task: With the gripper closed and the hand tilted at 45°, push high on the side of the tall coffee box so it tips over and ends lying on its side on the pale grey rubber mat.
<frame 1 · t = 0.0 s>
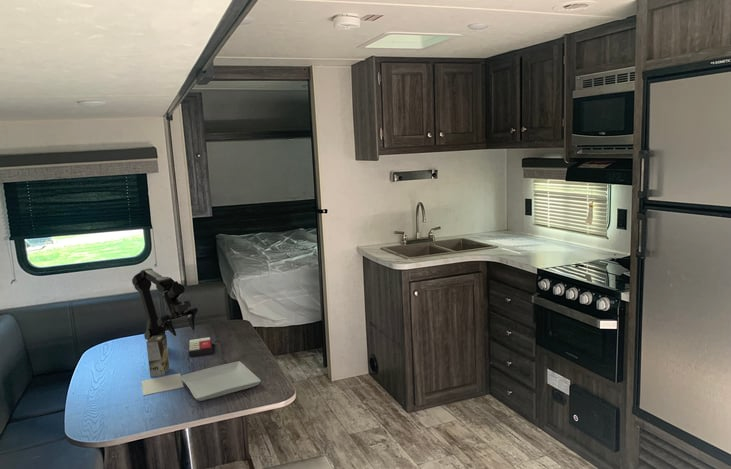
hand: (184, 332, 254), 15 cm above the table, tool tilted 35°, fingers open, 9 cm apart
coffee box: (160, 372, 248), on the table
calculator: (200, 351, 274), on the table
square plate: (220, 386, 230), on the table
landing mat: (162, 384, 234), on the table
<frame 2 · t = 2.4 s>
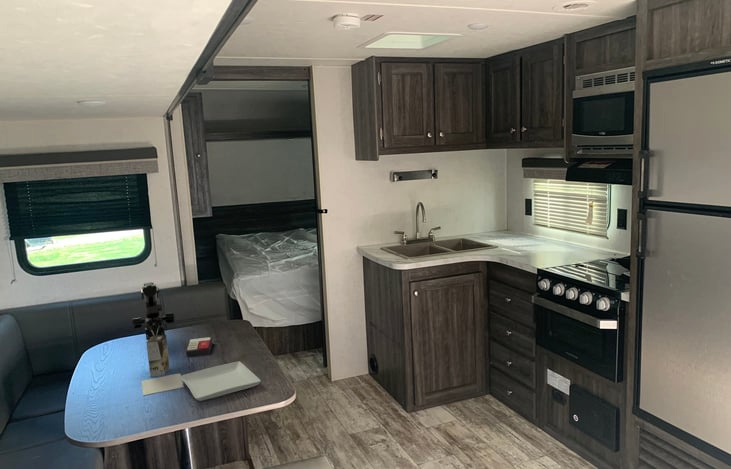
hand: (155, 336, 257), 13 cm above the table, tool tilted 45°, fingers closed
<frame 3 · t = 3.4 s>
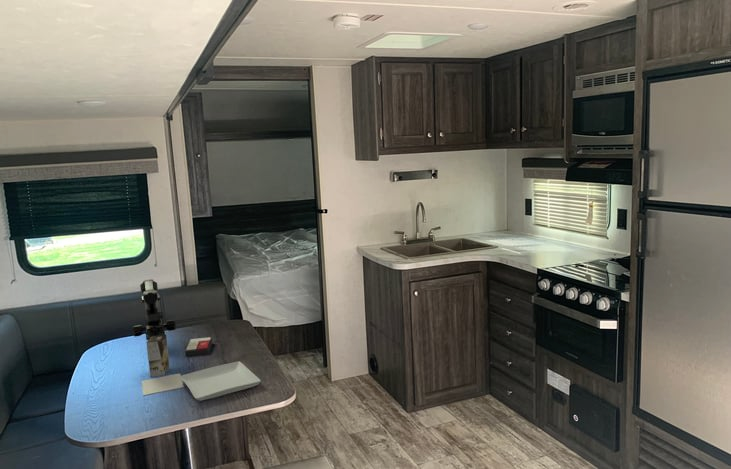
hand: (156, 343, 253), 11 cm above the table, tool tilted 45°, fingers closed
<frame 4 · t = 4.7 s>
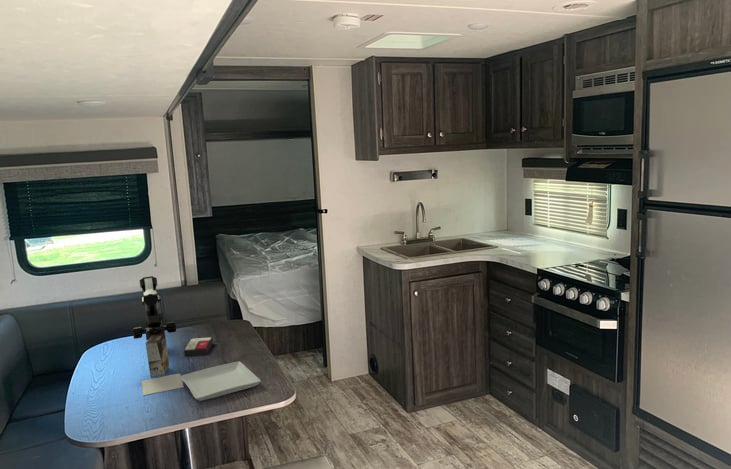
hand: (156, 346, 250), 11 cm above the table, tool tilted 45°, fingers closed
coffee box: (160, 371, 248), on the table, touching gripper
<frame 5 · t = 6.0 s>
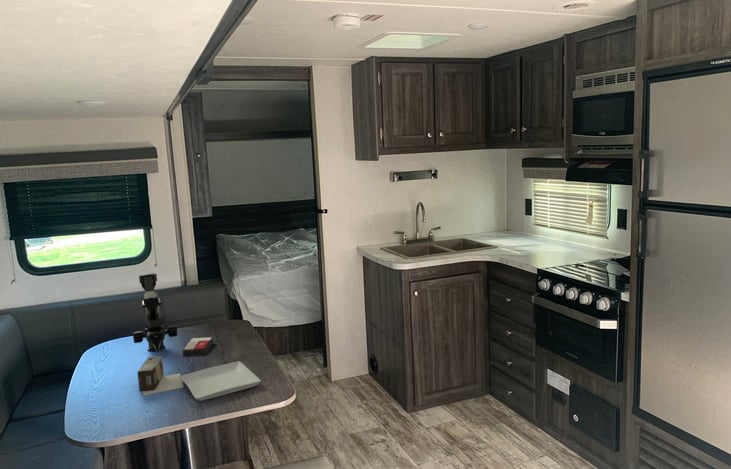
hand: (157, 350, 244), 11 cm above the table, tool tilted 45°, fingers closed
coffee box: (156, 365, 242), point 5 cm above the table, touching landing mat
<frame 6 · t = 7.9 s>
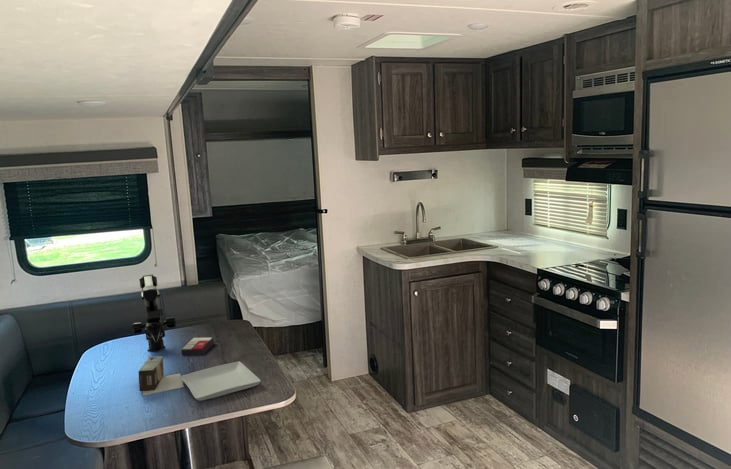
hand: (156, 341, 250), 13 cm above the table, tool tilted 45°, fingers closed
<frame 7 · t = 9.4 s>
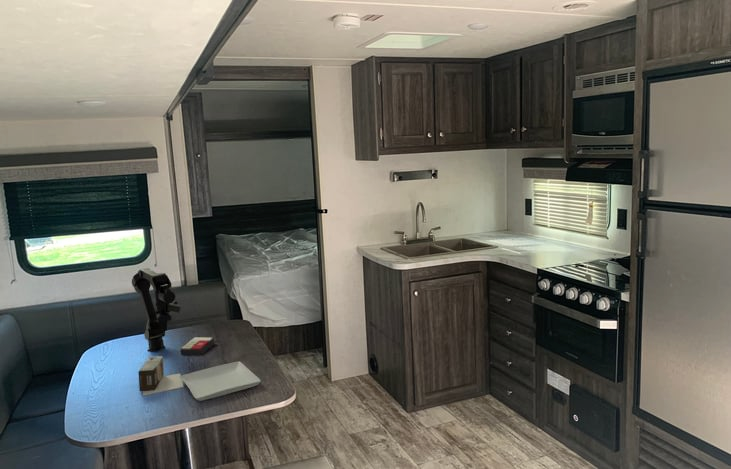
hand: (165, 330, 265), 13 cm above the table, tool pointing down, fingers closed
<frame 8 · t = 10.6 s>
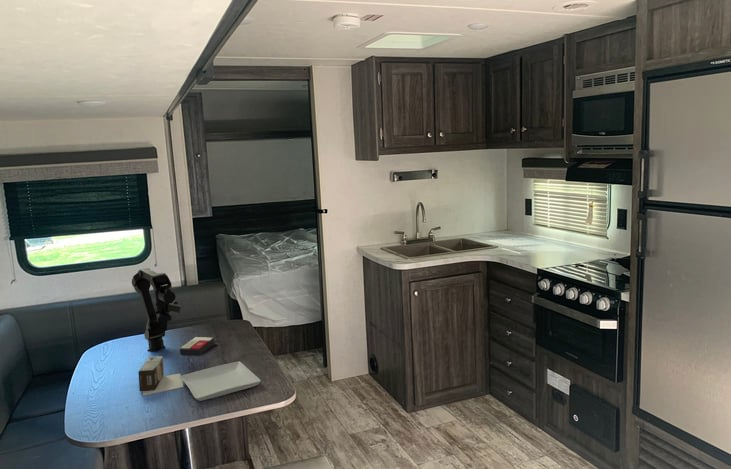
hand: (165, 330, 265), 13 cm above the table, tool pointing down, fingers closed
at the end: coffee box tilted 91°; coffee box touching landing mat; coffee box inside the target area (2.5 cm from its centre), point 4.9 cm above the table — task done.
